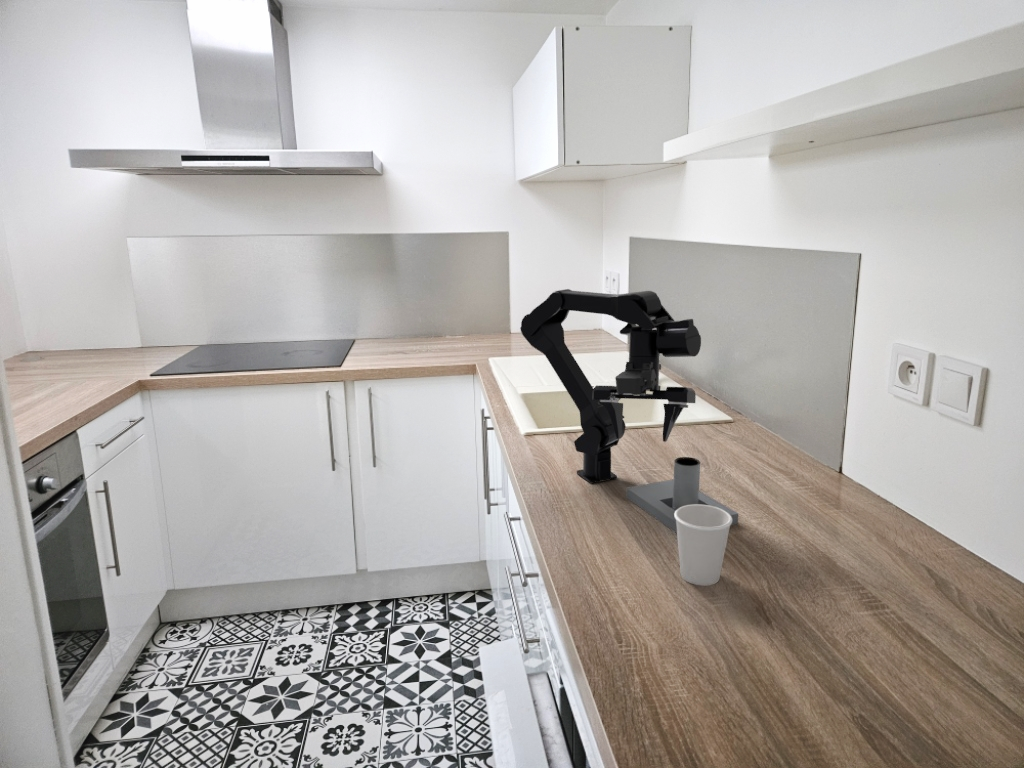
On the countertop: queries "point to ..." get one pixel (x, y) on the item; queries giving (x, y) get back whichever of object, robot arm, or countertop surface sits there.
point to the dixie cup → (701, 542)
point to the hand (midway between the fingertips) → (641, 440)
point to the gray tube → (686, 482)
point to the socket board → (667, 502)
